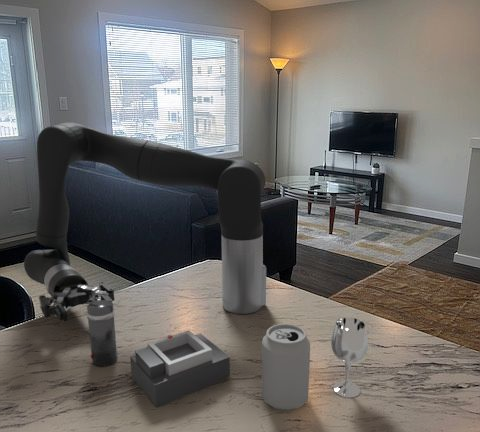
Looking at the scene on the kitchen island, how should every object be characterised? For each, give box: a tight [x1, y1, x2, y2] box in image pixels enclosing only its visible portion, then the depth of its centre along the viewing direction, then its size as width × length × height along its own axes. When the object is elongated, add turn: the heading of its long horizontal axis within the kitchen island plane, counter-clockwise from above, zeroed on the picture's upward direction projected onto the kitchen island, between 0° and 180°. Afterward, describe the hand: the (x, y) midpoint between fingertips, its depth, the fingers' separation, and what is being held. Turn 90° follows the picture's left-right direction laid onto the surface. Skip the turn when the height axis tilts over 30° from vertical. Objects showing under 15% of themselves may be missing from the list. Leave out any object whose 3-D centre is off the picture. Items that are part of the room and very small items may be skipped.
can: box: [261, 323, 311, 412], centre depth 75 cm, size 8×8×12 cm
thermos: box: [86, 300, 118, 368], centre depth 87 cm, size 5×5×11 cm
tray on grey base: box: [129, 329, 231, 408], centre depth 82 cm, size 14×10×6 cm
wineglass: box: [330, 316, 369, 399], centre depth 78 cm, size 6×6×12 cm
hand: (87, 311), depth 93 cm, fingers open, 8 cm apart
